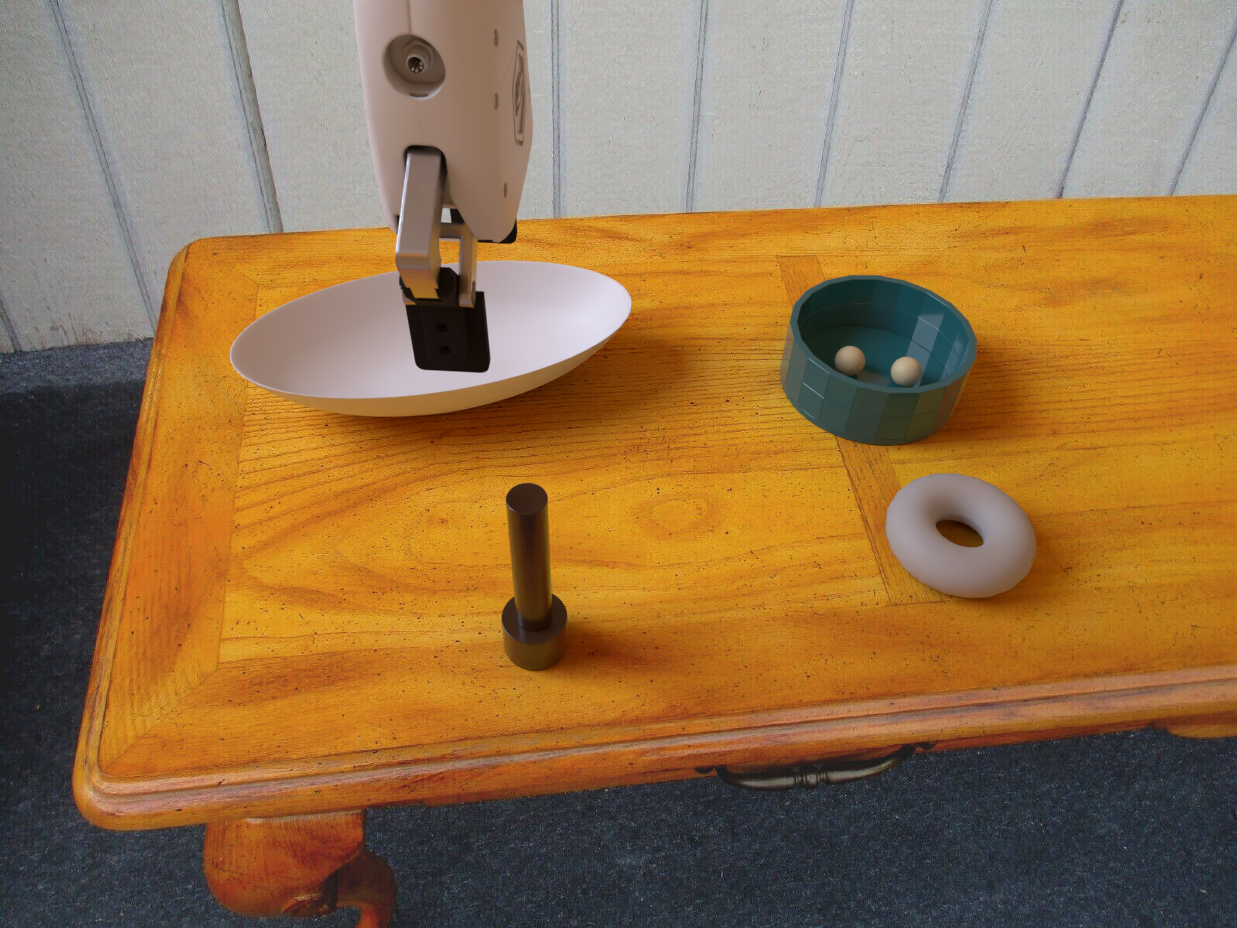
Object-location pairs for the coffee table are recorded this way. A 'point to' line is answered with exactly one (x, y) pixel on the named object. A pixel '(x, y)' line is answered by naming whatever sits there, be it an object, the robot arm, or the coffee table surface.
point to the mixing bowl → (876, 358)
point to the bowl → (382, 349)
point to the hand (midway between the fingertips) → (471, 298)
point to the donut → (947, 562)
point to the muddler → (532, 585)
